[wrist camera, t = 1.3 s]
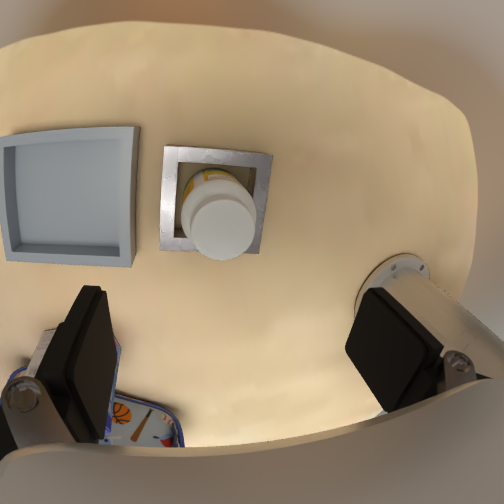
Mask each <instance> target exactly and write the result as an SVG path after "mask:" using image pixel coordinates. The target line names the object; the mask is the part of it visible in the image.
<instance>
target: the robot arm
mask: <svg viewBox="0 0 504 504" xmlns="http://www.w3.org/2000/svg"><path fill="white" fill-rule="evenodd" d="M345 350H346V353H347V355H348V356H349V358H350V359H351V361H352V362H353V364H354V365H355V367H356V368H357V370H358V371H359V373H360V374H361V376H362V377H363V379H364V381H365V382H366V384H367V385H368V387H369V388H370V390H371V391H372V393H373V394H374V396H375V397H376V399H377V400H378V402H379V403H380V405H381V407H382V408H383V410H384V411H386V412H388V414H385V415H382V416H378V417H375V418H372V419H369V420H365V421H362V422H358V423H355V424H351V425H347V426H344V427H340V428H336V429H332V430H327V431H323V432H318V433H314V434H309V435H304V436H298V437H293V438H287V439H281V440H274V441H267V442H260V443H251V444H242V445H230V446H216V447H186V448H160V447H135V446H121V445H104V444H99V440H103V439H104V437H105V430H106V422H107V415H108V409H109V403H110V397H111V391H112V385H113V380H114V375H115V370H116V365H117V350H116V345H115V340H114V335H113V330H112V324H111V318H110V312H109V306H108V299H107V293H106V291H102V290H101V287H100V286H88V285H84V286H83V287H82V289H81V291H80V292H79V294H78V296H77V298H76V300H75V302H74V303H73V305H72V307H71V309H70V311H69V313H68V315H67V317H66V319H65V321H64V322H61V323H60V324H59V325H58V327H57V329H56V331H55V333H54V335H53V337H52V339H51V341H50V343H49V345H48V347H47V349H46V352H45V354H44V356H43V358H42V360H41V363H40V365H39V367H38V369H37V372H36V374H35V376H34V377H30V376H21V377H17V378H14V379H13V380H11V381H9V382H8V383H7V384H6V385H5V387H4V389H3V390H2V393H1V406H0V504H504V342H503V341H502V340H501V339H500V338H499V337H498V336H497V335H496V334H495V333H493V332H492V331H491V330H490V329H489V328H488V327H487V326H485V325H484V324H483V323H482V322H481V321H480V320H478V319H477V318H476V317H475V316H474V315H472V314H471V313H470V312H469V311H468V310H466V309H465V308H464V307H463V306H462V305H460V304H459V303H458V302H457V301H455V300H454V299H453V298H452V297H450V296H449V295H448V294H447V293H446V292H445V291H444V290H442V289H440V288H439V287H438V286H436V285H435V284H434V283H432V282H431V281H430V280H429V271H428V268H427V266H426V264H425V263H424V262H423V261H422V260H421V259H419V258H418V257H416V256H414V255H411V254H402V255H397V256H395V257H393V258H390V259H389V260H387V261H386V262H384V263H383V264H381V265H380V266H379V267H378V268H377V269H376V270H375V271H374V272H373V273H372V274H371V275H370V276H369V278H368V279H367V280H366V282H365V283H364V285H363V287H362V289H361V290H360V292H359V295H358V298H357V300H356V305H355V320H354V323H353V326H352V329H351V331H350V334H349V337H348V339H347V342H346V345H345Z"/></svg>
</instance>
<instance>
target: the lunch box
mask: <svg viewBox="0 0 504 504" xmlns="http://www.w3.org/2000/svg"><path fill="white" fill-rule="evenodd" d="M27 368H28V367H22V368H19V369H17V370H16V371H14V372H13V373H12V375H11V376H10V378H9V380H8V382H9V381H11V380H13V379H14V378H17V377H21V376H24V375H25V373H26V370H27ZM8 382H7V383H8ZM0 406H1V397H0ZM99 444H104V445H121V446H135V447H160V448H185V445H184V437H183V432H182V428H181V425H180V423H179V421H178V419H177V418H176V417H175V416H174V415H173V414H172V413H170V412H169V411H167V410H166V409H164V408H162V407H160V406H157V405H155V404H152V403H149V402H145V401H140V400H136V399H133V398H129V397H125V396H122V395H119V394H114V403H113V413H112V426H111V433H107V434H105V437H104V439H103V440H99Z"/></svg>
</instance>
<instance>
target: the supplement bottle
mask: <svg viewBox="0 0 504 504" xmlns="http://www.w3.org/2000/svg"><path fill="white" fill-rule="evenodd" d="M255 223H256V207H255V204H254V201H253V199H252V197H251V196H250V194H249V193H248V191H247V190H246V189H245V188H244V187H243V186H242V185H241V184H240V182H239V181H238V180H237V179H236V178H235V177H234V176H233V175H232V174H231V173H229V172H228V171H225V170H223V169H219V168H207V169H203V170H201V171H199V172H197V173H196V174H194V175H193V176H192V177H191V178H190V180H189V181H188V182H187V184H186V187H185V189H184V194H183V201H182V209H181V224H182V228H183V230H184V233H185V235H186V236H187V238H188V239H189V240H190V241H191V243H193V244H194V245H195V247H196V248H197V250H198V251H199V252H200V253H201V254H203V255H204V256H206V257H208V258H210V259H213V260H219V261H225V260H230V259H233V258H236V257H238V256H240V255H241V254H242V253H244V252H245V251H246V250H247V249H248V247H249V246H250V244H251V243H252V241H253V238H254V234H255Z"/></svg>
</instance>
